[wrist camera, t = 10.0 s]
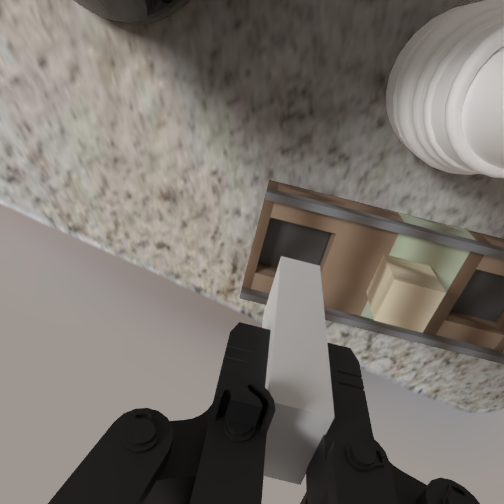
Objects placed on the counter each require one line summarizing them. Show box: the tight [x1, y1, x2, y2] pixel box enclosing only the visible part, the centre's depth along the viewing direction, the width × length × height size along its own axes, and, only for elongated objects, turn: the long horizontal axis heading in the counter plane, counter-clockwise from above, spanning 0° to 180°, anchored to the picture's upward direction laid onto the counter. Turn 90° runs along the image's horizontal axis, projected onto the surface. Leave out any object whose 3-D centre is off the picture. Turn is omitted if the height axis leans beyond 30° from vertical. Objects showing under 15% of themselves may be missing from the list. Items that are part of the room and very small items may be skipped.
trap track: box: [240, 180, 504, 364], centre depth 41 cm, size 31×13×4 cm, turn 77°
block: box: [366, 254, 446, 333], centre depth 39 cm, size 5×5×5 cm
